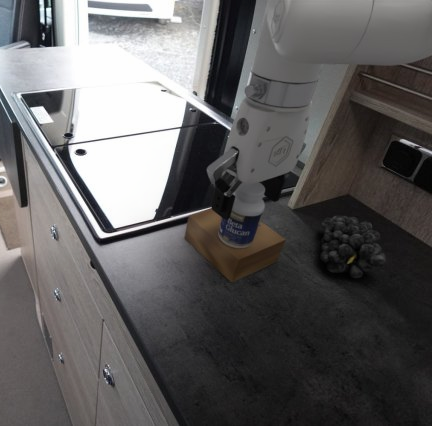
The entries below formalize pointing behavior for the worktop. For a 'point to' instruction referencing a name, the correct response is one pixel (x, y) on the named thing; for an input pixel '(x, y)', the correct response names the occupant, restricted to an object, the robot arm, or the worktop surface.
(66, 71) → the worktop surface
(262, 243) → the brown flat block
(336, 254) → the fruit
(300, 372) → the worktop surface
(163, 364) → the worktop surface
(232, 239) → the pill bottle
